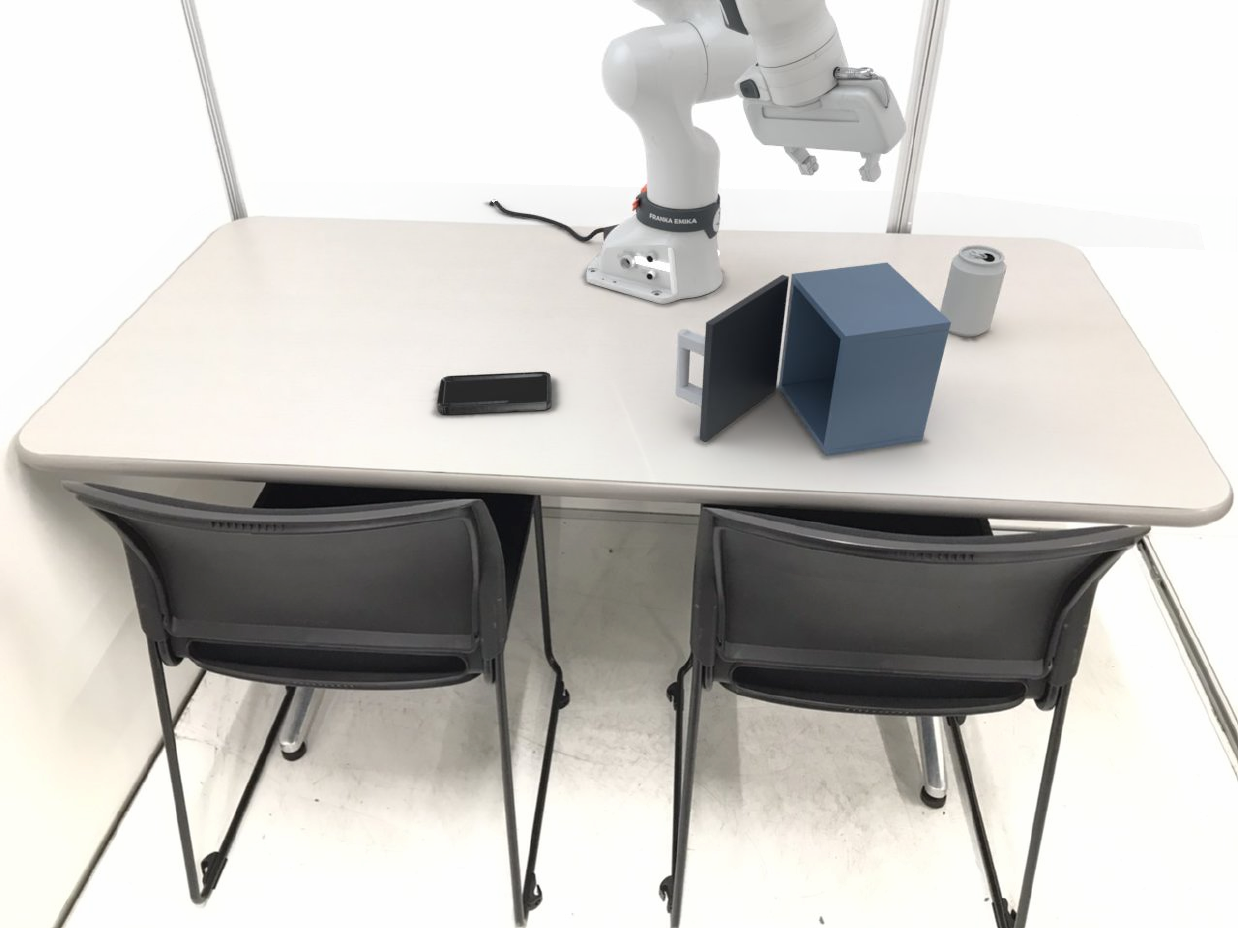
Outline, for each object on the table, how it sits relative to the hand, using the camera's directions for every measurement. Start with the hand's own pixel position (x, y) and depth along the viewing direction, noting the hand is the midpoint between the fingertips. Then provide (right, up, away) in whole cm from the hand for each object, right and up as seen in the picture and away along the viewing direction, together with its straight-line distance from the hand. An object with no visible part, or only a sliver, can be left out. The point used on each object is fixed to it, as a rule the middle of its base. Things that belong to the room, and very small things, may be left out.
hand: (840, 175), depth 108 cm
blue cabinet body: (+4, -28, +11) cm, 30 cm away
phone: (-43, -25, +15) cm, 52 cm away
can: (+25, -14, +29) cm, 41 cm away
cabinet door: (-13, -27, +13) cm, 32 cm away
